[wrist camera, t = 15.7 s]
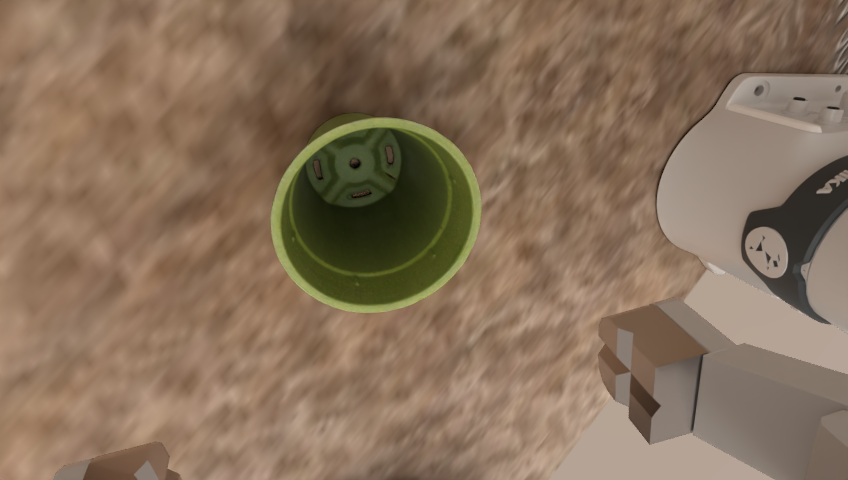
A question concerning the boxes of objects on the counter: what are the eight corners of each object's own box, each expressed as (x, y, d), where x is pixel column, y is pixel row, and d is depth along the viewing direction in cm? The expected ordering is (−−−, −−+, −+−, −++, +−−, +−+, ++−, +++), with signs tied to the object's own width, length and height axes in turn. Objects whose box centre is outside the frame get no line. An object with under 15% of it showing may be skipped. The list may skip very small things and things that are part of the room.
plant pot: (344, 261, 44) (363, 347, 34) (235, 149, 38) (221, 214, 28) (463, 171, 43) (518, 232, 33) (370, 41, 37) (404, 69, 27)
